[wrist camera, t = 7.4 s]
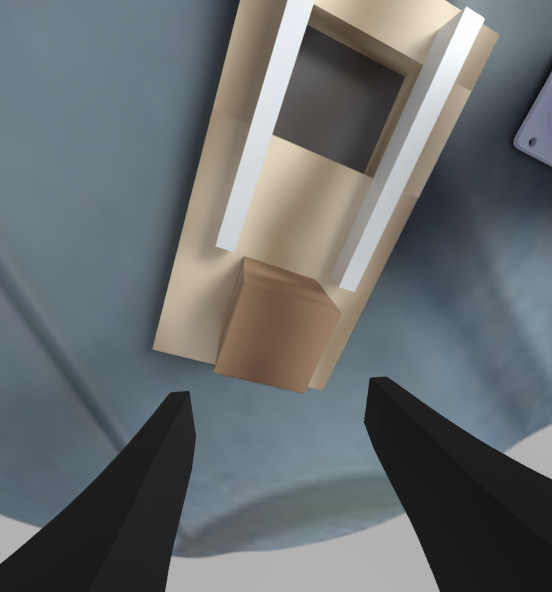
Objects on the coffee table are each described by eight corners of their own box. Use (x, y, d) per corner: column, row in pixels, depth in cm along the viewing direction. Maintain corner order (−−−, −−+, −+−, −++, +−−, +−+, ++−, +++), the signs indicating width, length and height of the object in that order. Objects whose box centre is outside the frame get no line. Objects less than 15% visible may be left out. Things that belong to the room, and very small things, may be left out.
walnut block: (316, 279, 17) (341, 313, 13) (289, 342, 19) (304, 393, 14) (244, 256, 17) (243, 283, 12) (221, 324, 18) (213, 372, 13)
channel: (455, 38, 14) (484, 18, 12) (344, 282, 18) (354, 292, 16) (304, -52, 12) (314, -90, 10) (218, 240, 16) (215, 246, 14)
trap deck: (469, 52, 16) (499, 34, 14) (316, 373, 22) (322, 390, 21) (264, -69, 13) (267, -111, 11) (161, 334, 20) (152, 349, 18)
